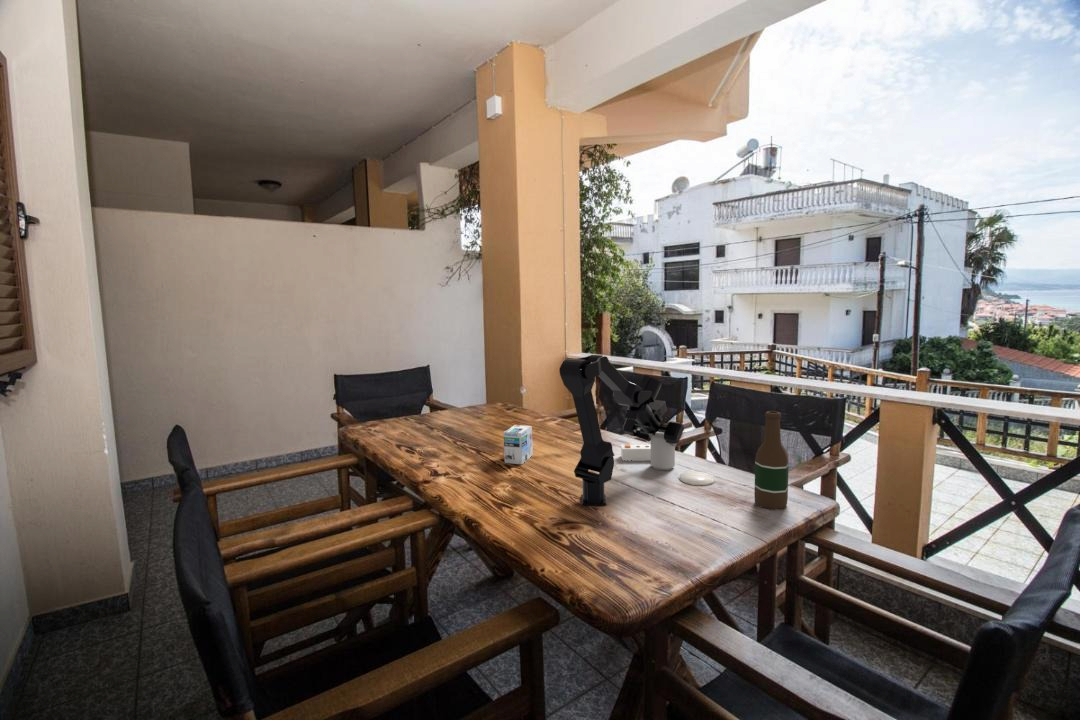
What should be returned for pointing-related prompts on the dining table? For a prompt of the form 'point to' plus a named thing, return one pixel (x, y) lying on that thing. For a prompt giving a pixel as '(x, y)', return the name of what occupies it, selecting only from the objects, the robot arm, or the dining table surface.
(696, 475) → the coaster
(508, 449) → the light bulb box
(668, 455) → the can
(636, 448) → the power strip
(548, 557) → the dining table surface
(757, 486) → the beer bottle
